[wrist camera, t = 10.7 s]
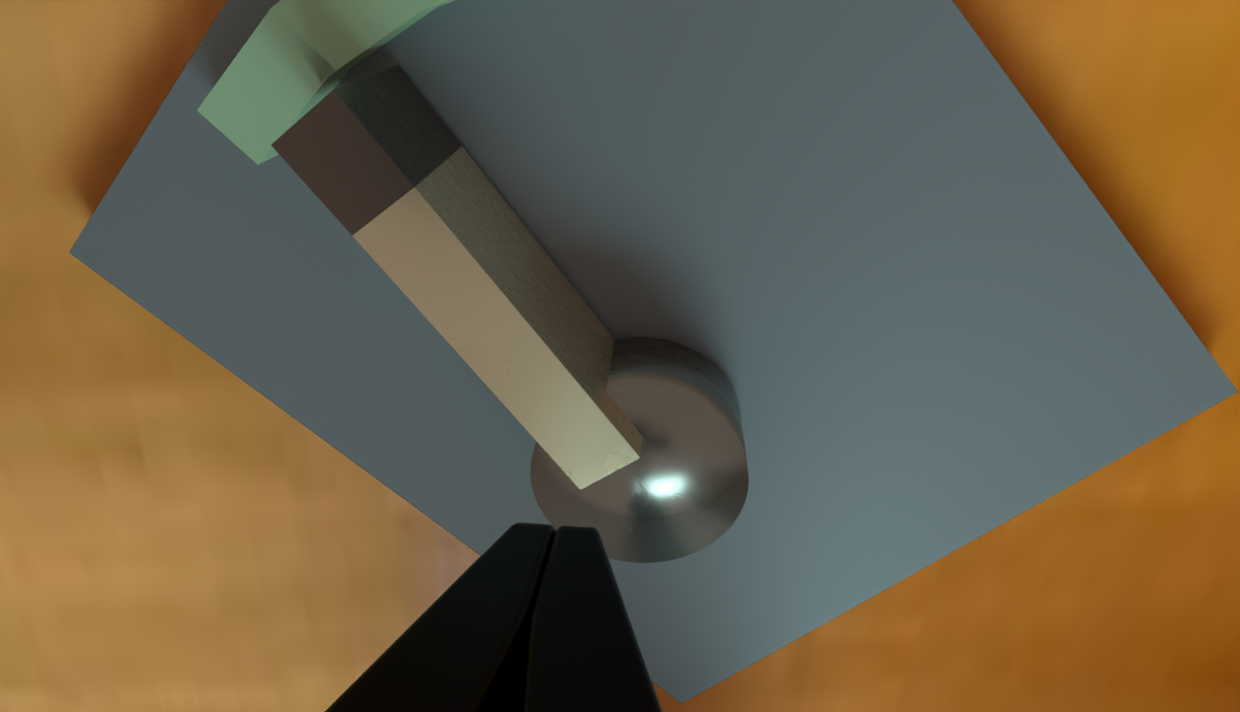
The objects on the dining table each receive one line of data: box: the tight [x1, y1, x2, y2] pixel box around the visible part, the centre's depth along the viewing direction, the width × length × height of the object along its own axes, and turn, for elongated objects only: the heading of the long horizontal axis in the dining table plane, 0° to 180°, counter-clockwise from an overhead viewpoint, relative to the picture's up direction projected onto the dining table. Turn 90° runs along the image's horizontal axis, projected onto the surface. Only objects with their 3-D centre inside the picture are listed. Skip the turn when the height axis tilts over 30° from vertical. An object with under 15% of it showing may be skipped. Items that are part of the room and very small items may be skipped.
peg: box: [271, 65, 749, 563], centre depth 16 cm, size 12×5×3 cm, turn 36°
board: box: [69, 0, 1238, 703], centre depth 18 cm, size 18×22×2 cm
